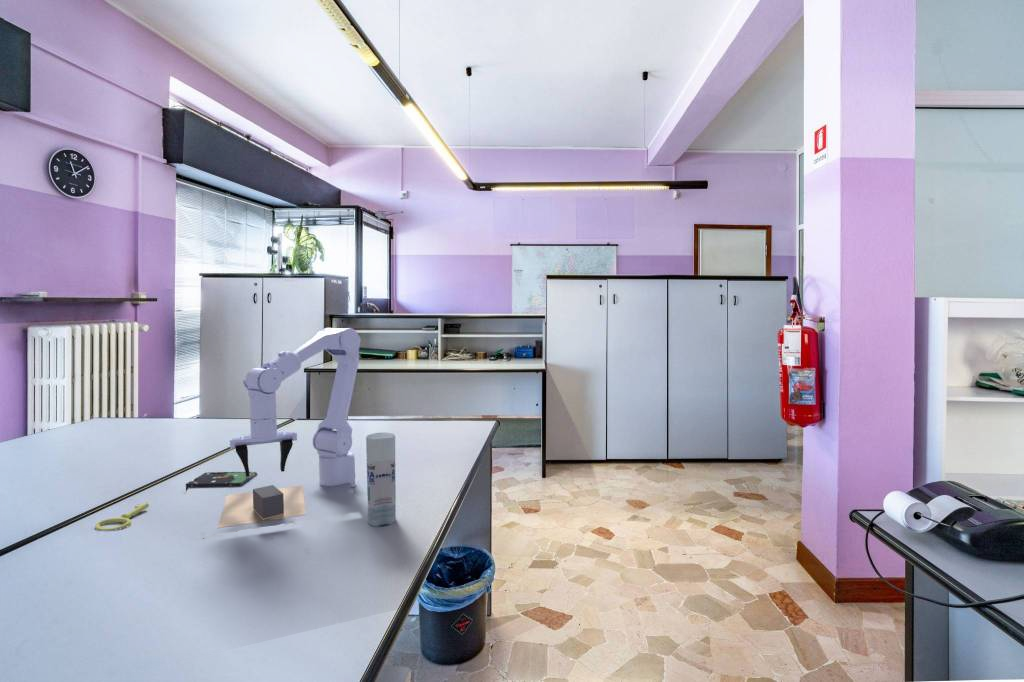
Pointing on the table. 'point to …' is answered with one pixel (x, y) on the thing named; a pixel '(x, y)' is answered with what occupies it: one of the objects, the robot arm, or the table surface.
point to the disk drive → (221, 479)
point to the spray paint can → (381, 478)
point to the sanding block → (268, 502)
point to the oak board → (242, 512)
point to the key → (123, 518)
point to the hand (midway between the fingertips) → (265, 472)
